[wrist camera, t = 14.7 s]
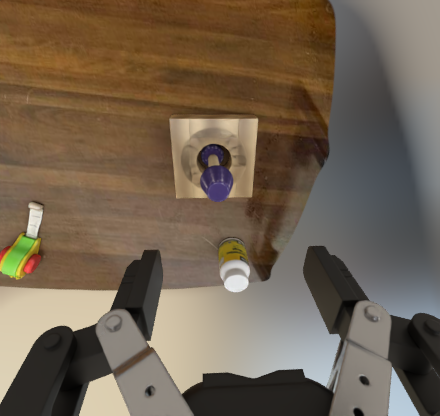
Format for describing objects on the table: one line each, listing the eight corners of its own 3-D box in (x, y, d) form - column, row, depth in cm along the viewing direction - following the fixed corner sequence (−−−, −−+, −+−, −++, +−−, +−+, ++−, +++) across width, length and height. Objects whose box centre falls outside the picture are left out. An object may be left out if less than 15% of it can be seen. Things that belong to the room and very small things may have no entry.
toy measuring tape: (9, 263, 56) (-13, 286, 50) (21, 195, 48) (-4, 212, 42) (40, 272, 58) (22, 295, 52) (56, 208, 50) (37, 226, 44)
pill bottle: (248, 240, 56) (257, 276, 46) (239, 260, 59) (245, 297, 49) (223, 233, 55) (226, 269, 45) (214, 254, 58) (216, 291, 48)
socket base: (253, 114, 43) (258, 118, 39) (248, 188, 49) (251, 197, 46) (172, 114, 42) (169, 118, 38) (178, 189, 49) (176, 198, 45)
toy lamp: (203, 138, 44) (202, 173, 30) (228, 143, 45) (239, 179, 30) (199, 163, 46) (196, 207, 32) (223, 167, 47) (231, 212, 33)
